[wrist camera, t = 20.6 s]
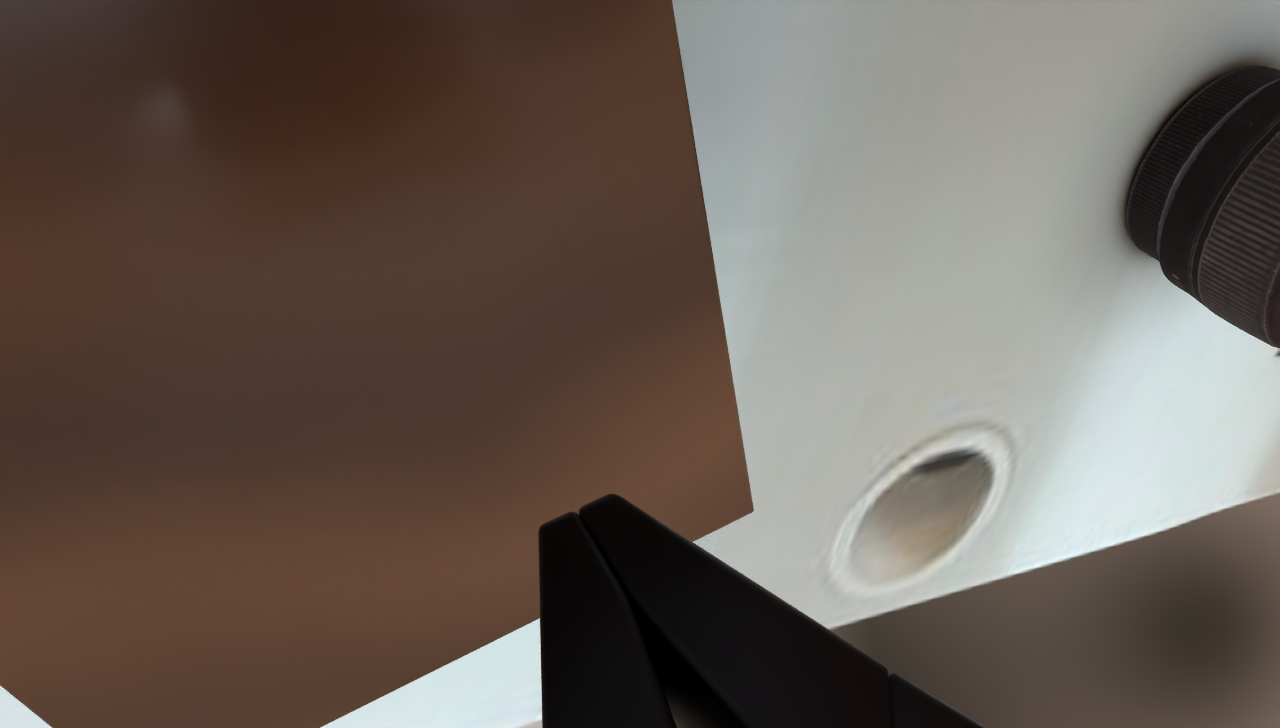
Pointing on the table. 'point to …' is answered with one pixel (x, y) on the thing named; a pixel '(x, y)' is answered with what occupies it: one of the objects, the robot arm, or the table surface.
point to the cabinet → (334, 338)
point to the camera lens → (1218, 200)
